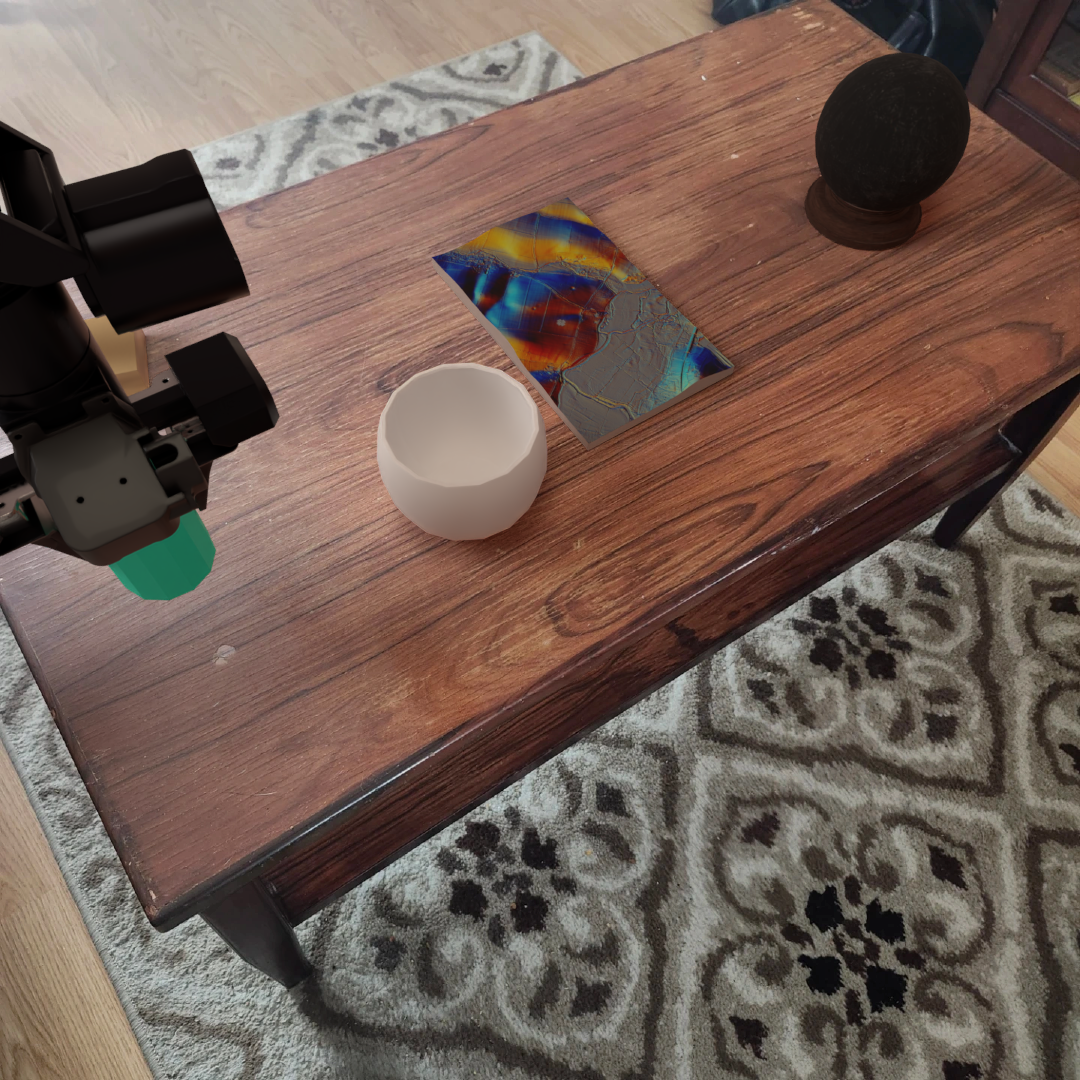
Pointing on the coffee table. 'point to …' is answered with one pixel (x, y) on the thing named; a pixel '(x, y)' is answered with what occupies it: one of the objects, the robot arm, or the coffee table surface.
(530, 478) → the cup
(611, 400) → the relief map
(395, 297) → the coffee table surface
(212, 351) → the robot arm
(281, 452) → the coffee table surface
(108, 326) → the maple block
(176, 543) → the candle
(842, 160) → the velvet ball on stand
